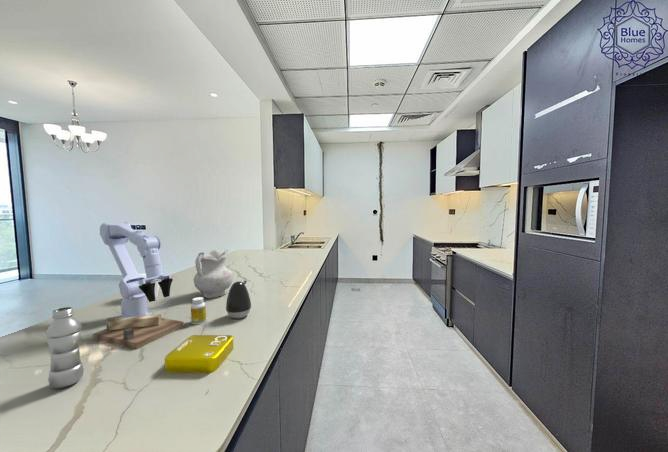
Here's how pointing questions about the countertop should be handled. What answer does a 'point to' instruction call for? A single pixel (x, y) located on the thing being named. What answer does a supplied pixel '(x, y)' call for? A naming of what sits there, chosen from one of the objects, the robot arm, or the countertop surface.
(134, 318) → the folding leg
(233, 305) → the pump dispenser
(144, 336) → the wooden board
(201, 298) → the supplement bottle
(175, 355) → the element tile
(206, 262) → the ceramic pitcher
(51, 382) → the plastic bottle
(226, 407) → the countertop surface
